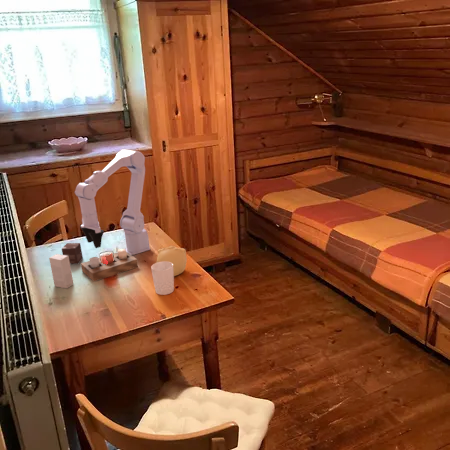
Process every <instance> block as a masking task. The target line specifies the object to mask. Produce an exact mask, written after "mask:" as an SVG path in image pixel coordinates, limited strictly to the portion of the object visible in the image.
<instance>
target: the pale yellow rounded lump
mask: <svg viewBox="0 0 450 450" xmlns="http://www.w3.org/2000/svg"><path fill="white" fill-rule="evenodd" d="M157 252H158V254H157V258H156V263H157V262H162V261H167V262H171V263H172V264H173V272H174V277H176V276H178V275H180V274H182V273H184V271H185V270H186V266H187V262H188V261H187V259H188V258H187V250H186V248H183V247H177V246H176V245H169V246H166V247H163V248H160V249H158V250H157Z"/></svg>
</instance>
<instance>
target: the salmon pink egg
mask: <svg viewBox="0 0 450 450" xmlns="http://www.w3.org/2000/svg"><path fill="white" fill-rule="evenodd" d="M110 253H111V254H110V255H108V256H105V257H106V260H107V261H108V264H110V263H113V262H114V261H113V254H114V253H112V252H110Z"/></svg>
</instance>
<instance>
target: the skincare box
mask: <svg viewBox="0 0 450 450" xmlns="http://www.w3.org/2000/svg"><path fill="white" fill-rule="evenodd" d="M49 263H50V269H51V270H50V271H51V274H52V278H53V279H52V280H53V285H54V287H56V288H57V287H58V288H62V289H68V288H70V287H72V286H73V285H74V278H73V273H72V268H71V264H70V262H69V256H67V255H63V254H59V253H56V254H54V255H52V256H50V257H49Z"/></svg>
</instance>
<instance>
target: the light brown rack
mask: <svg viewBox="0 0 450 450" xmlns="http://www.w3.org/2000/svg"><path fill="white" fill-rule="evenodd" d="M126 253H127V252H126ZM113 254H114V262H113V263H110V264H107V265H106V264H103V263H101V261H100V258H101V257H98V258H99V265H100V267H97V268H94V269H91V266H90V260H88V261H85V262H81V263H80V266H81V271H82V272H83V273H84V274H85V275H86V276H87V277H88V278H89V279H90V280H92V281H93V282H96V281H97V282H98V281H100V280H102V279H106V278H110V277H112V276H115V275H117V274H121V273H124V272H127V271H130V270H133V269H136V268H138V267H139V264H138V258H136V257H135V256H134V255H130V254H129V253H127V258H126V259H123V260H119V259H118V252H115V253H113Z"/></svg>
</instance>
